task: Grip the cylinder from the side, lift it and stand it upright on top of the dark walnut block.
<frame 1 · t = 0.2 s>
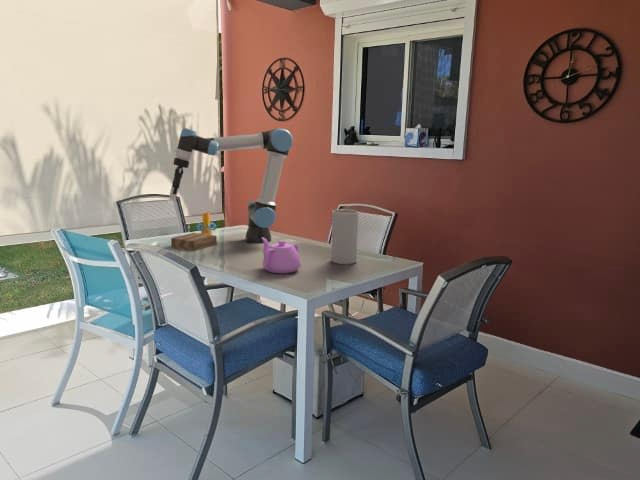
hand: (172, 199, 253), 27 cm above the table, tool tilted 15°, fingers open, 13 cm apart
cylinder: (206, 237, 290), on the table
teapot: (278, 269, 225), on the table
walnut block: (194, 245, 268), on the table
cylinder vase: (343, 261, 242), on the table
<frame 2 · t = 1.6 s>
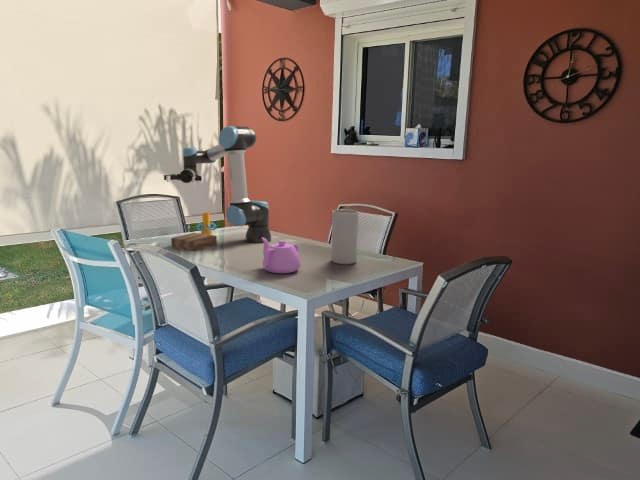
hand: (179, 179, 261), 36 cm above the table, tool horizontal, fingers open, 13 cm apart
nothing on the table moved.
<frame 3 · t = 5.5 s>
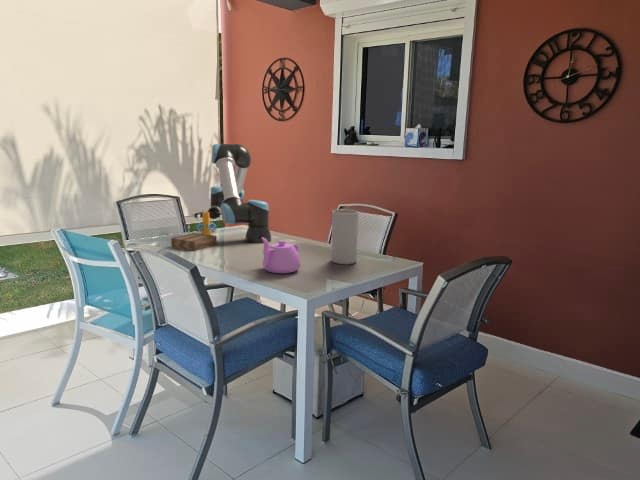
hand: (208, 218, 298), 10 cm above the table, tool horizontal, fingers open, 13 cm apart
nothing on the table moved.
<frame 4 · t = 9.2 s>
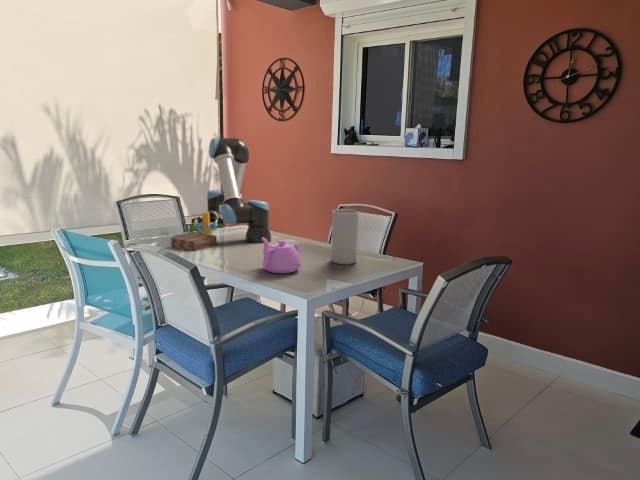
hand: (205, 223, 285), 9 cm above the table, tool horizontal, fingers closed on cylinder, 11 cm apart
cylinder: (206, 237, 290), on the table, touching gripper
everything else where it was.
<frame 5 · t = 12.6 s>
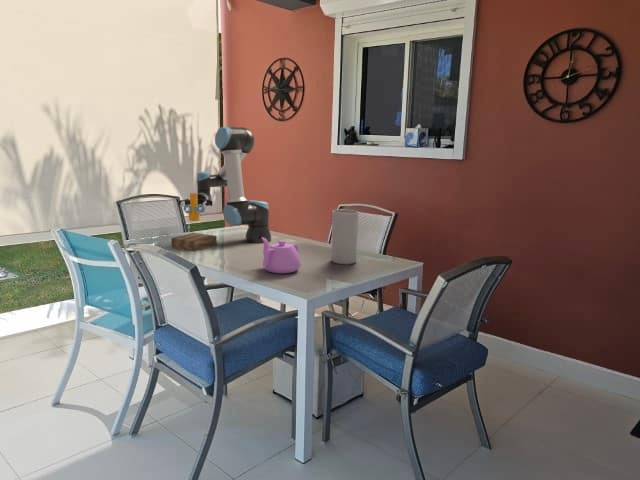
hand: (192, 205, 266), 22 cm above the table, tool horizontal, fingers closed on cylinder, 11 cm apart
cylinder: (194, 220, 272), point 13 cm above the table, touching gripper
everything else where it was.
when the fingers open (15 cm above the table, at t = 15.9 s): cylinder stays where it is, resting on walnut block.
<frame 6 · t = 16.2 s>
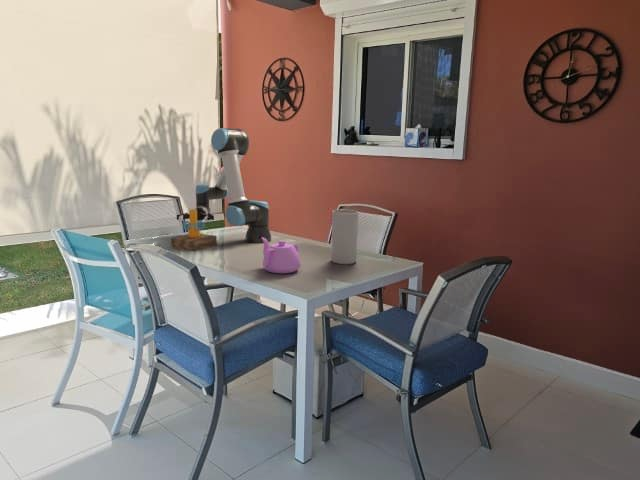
hand: (192, 219, 262), 15 cm above the table, tool horizontal, fingers open, 13 cm apart
cylinder: (194, 237, 267), point 5 cm above the table, touching walnut block
everything else where it was.
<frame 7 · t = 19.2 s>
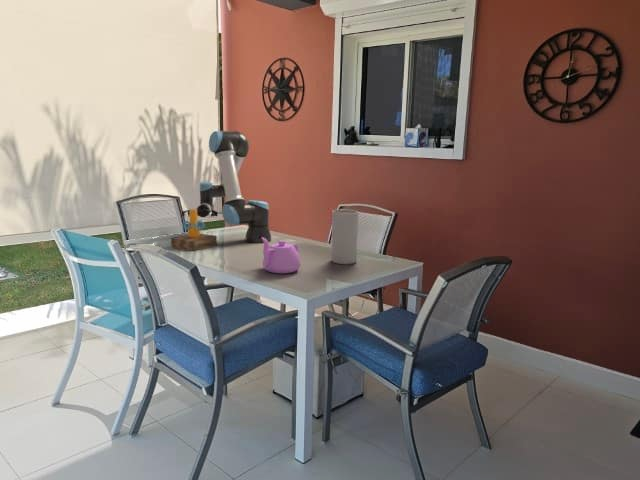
hand: (197, 215, 274), 15 cm above the table, tool horizontal, fingers open, 13 cm apart
nothing on the table moved.
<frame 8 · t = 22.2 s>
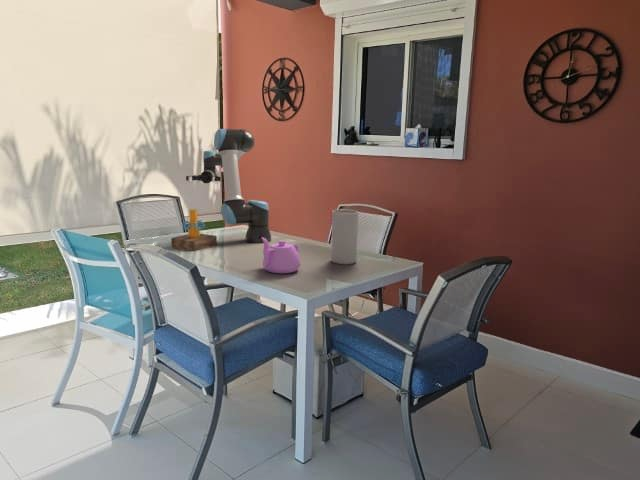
hand: (200, 179, 284), 34 cm above the table, tool horizontal, fingers open, 13 cm apart
nothing on the table moved.
at the end: cylinder inside the target area on the walnut block (0.1 cm from its centre), point 4.8 cm above the walnut block's base; cylinder tilted 0°; the gripper is holding nothing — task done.
